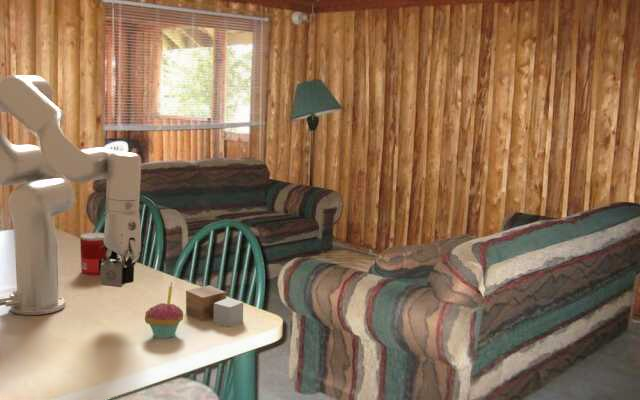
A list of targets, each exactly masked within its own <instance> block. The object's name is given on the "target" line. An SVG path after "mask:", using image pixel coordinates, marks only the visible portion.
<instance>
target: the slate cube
mask: <svg viewBox="0 0 640 400" xmlns="http://www.w3.org/2000/svg"><path fill="white" fill-rule="evenodd" d="M243 322H244V302H243V301H241V300H236V299H233V298H229V297H226V299H223V300H221V301H218V302H215V303H214V318H213V324H217V325H218V326H219V325H220V326H222V327H226V328H232V327H234V326H237V325H238V324H240V323H243Z"/></svg>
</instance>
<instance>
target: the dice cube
mask: <svg viewBox="0 0 640 400" xmlns="http://www.w3.org/2000/svg"><path fill="white" fill-rule="evenodd" d="M122 268H123V266H122V260H121V259H120V260H116V259H108V260H106V261H105V262H104V263H102V264H101V275H99V276H100V277H99V279H100V280H99V285H100V286H105V287H114V288H115V287H117V288H123V286H125V285H126V284H127V283H125V284H122Z"/></svg>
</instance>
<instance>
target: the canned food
mask: <svg viewBox="0 0 640 400" xmlns="http://www.w3.org/2000/svg"><path fill="white" fill-rule="evenodd" d="M79 239H80V242H79V243H80V269H81V273H82V274H84V275H87V276H100V275H101V264H102V263H104V262H105V261H106V260H107V258H106V253H107V252H106V250H105V244H104V241H103V240H104V232H89V233H84V234H81V235H80V238H79Z"/></svg>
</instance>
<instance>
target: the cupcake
mask: <svg viewBox="0 0 640 400" xmlns="http://www.w3.org/2000/svg"><path fill="white" fill-rule="evenodd" d="M172 293H173V282H171V283H170V285H169V287H168V294H167V295H168V296H167V303H164V302H162V303H158V304H156V305H154V306H151V307H150V308H149V309H148V310H146V311H145V316H144V321H145V323H146V324H148V325H149V326H150V328H151V330H152V331H151V332H152V334H153V336H154V338H157V339H169V338H173V337H174V336H176V331H177V328H178V326H179V324H180V322H182V321H183V320H184V312H183V310H182V308H180V306H177V305H176V304H172V303H171V298H172Z"/></svg>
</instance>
